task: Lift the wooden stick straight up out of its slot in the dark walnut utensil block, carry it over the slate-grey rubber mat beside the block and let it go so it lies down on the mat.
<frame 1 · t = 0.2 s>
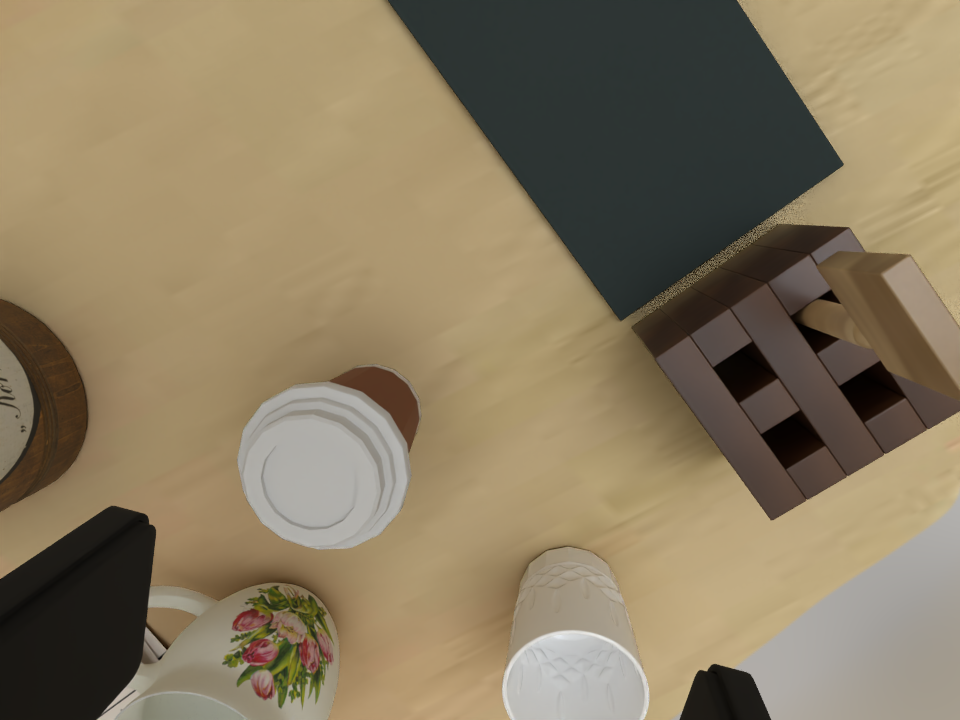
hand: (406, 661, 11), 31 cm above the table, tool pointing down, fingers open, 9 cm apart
white cup: (568, 588, 45), on the table
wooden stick: (762, 297, 39), resting in utensil block
coffee cup: (374, 409, 43), on the table
mat: (608, 76, 37), on the table
newspaper: (65, 699, 52), on the table
utensil block: (751, 344, 40), on the table
pitcher: (278, 614, 48), on the table
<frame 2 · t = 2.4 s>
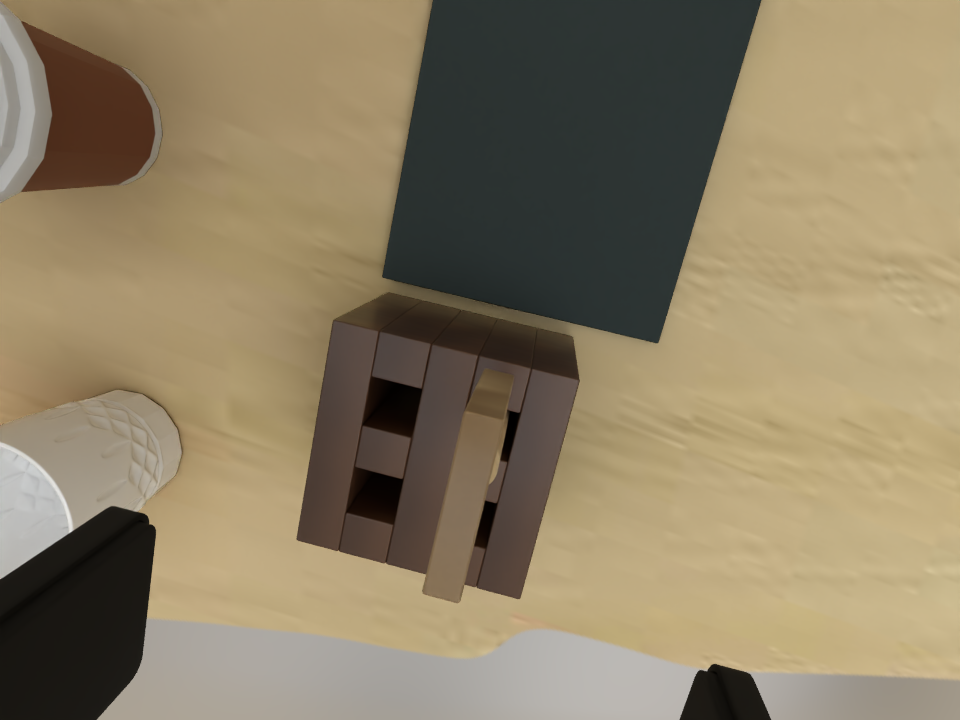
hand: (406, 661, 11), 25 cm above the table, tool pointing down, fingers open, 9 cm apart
white cup: (132, 441, 39), on the table
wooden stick: (504, 377, 36), resting in utensil block
coffee cup: (108, 125, 35), on the table
mat: (575, 72, 32), on the table
utensil block: (459, 403, 36), on the table
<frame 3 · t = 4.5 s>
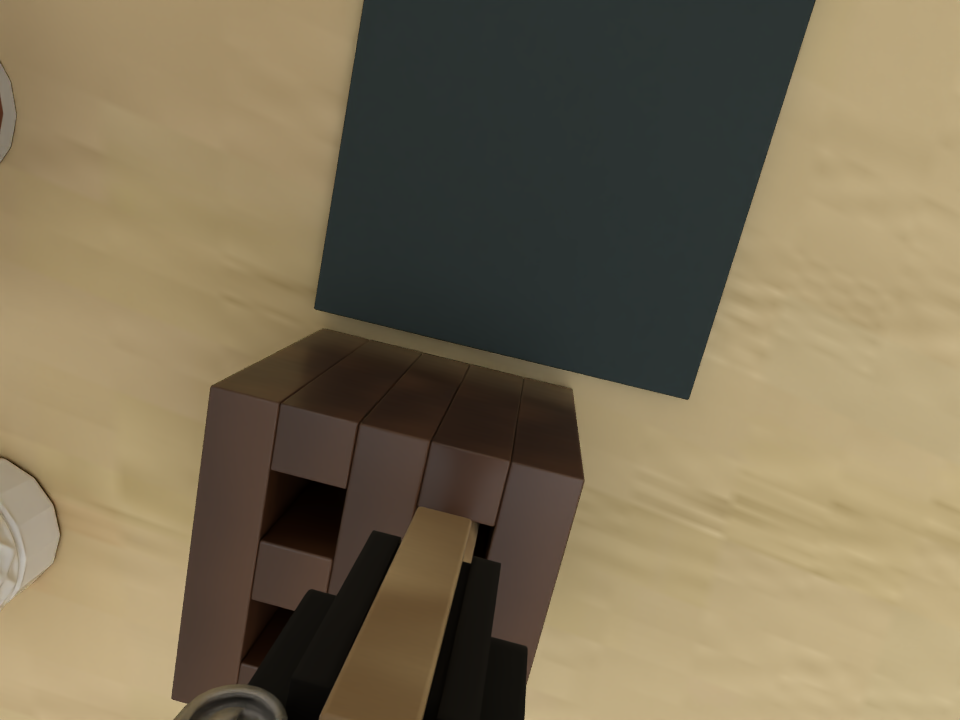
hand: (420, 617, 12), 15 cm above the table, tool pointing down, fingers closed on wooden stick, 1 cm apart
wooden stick: (480, 441, 27), resting in utensil block, touching gripper
mat: (576, 28, 23), on the table
utensil block: (421, 474, 27), on the table
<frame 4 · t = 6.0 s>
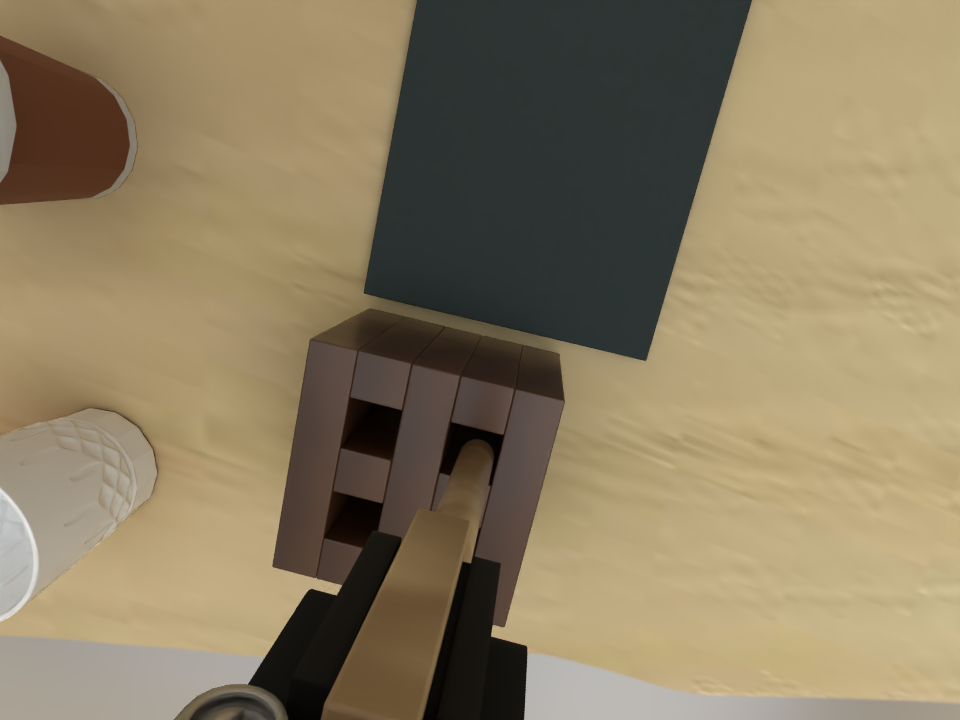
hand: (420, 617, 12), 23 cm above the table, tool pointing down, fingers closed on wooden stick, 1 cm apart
white cup: (106, 461, 38), on the table
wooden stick: (478, 451, 27), point 8 cm above the table, touching gripper
coffee cup: (81, 136, 34), on the table
mat: (560, 85, 31), on the table
utensil block: (443, 421, 35), on the table
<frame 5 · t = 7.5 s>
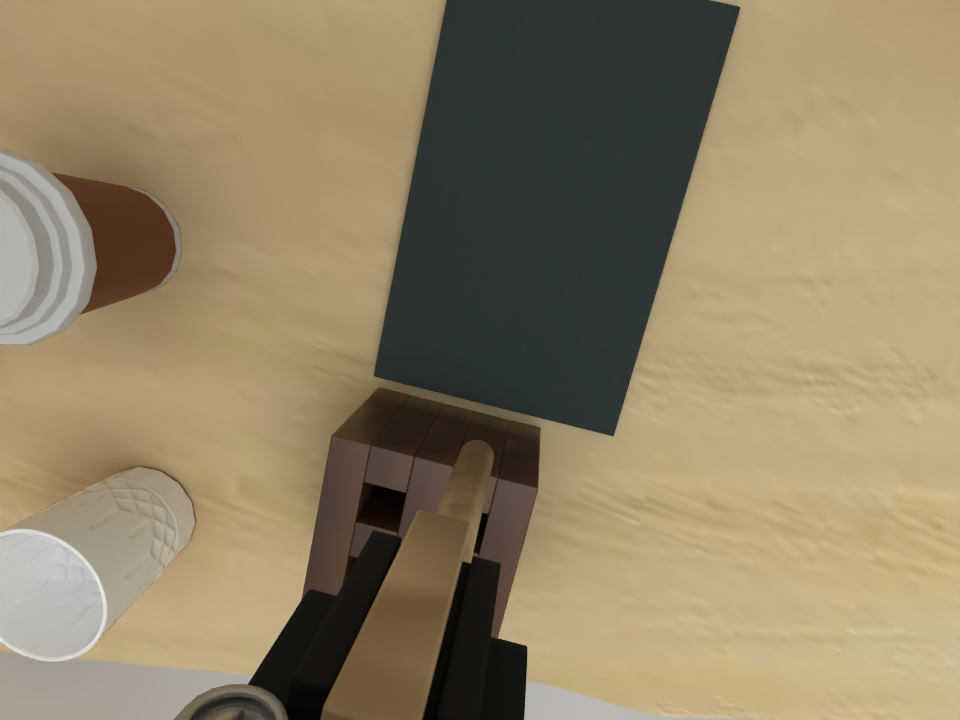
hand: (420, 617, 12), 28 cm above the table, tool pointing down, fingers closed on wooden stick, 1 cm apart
white cup: (150, 511, 44), on the table
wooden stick: (478, 452, 27), point 13 cm above the table, touching gripper
coffee cup: (134, 240, 40), on the table
mat: (540, 208, 37), on the table
utensil block: (441, 482, 41), on the table
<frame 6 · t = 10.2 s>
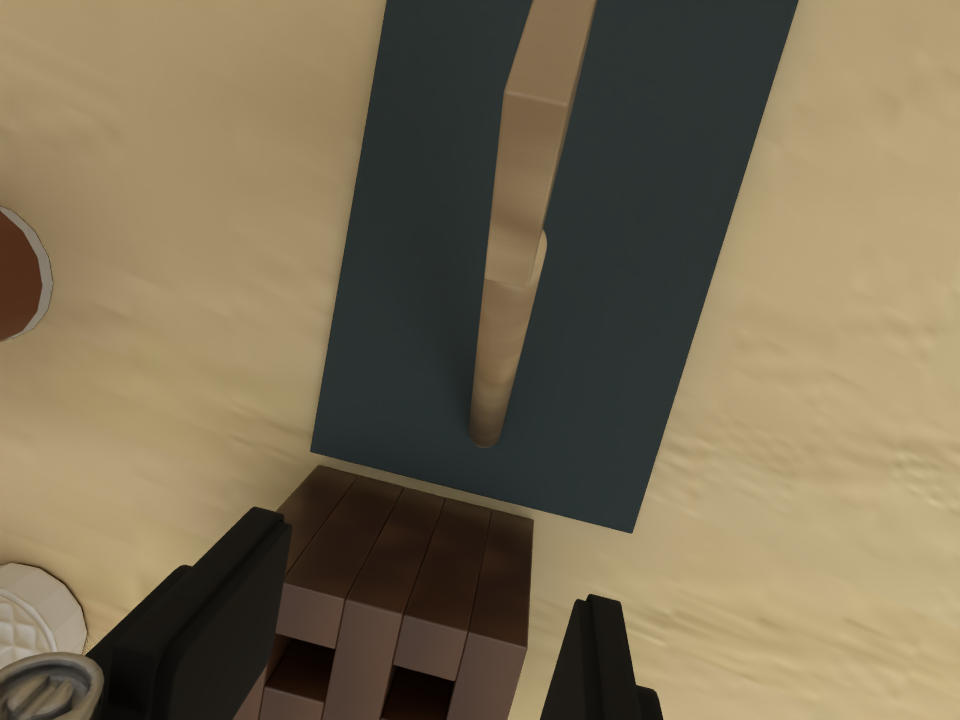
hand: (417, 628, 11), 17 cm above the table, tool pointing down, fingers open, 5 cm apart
white cup: (31, 617, 34), on the table
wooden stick: (483, 436, 28), point 1 cm above the table, tilted 39°, touching mat
mat: (532, 227, 27), on the table
utensil block: (403, 588, 31), on the table
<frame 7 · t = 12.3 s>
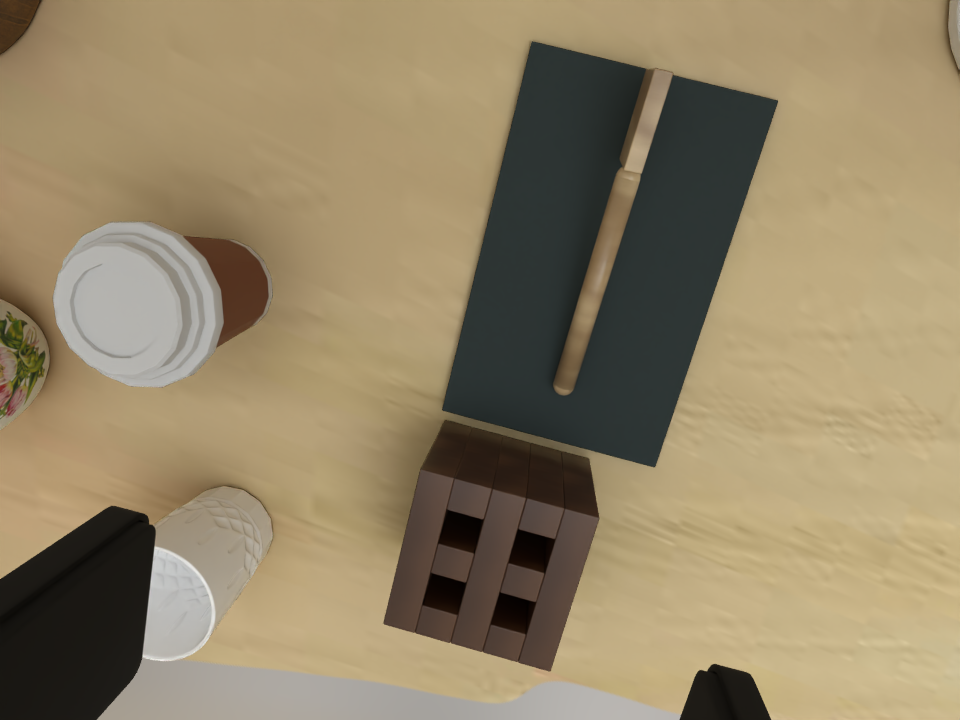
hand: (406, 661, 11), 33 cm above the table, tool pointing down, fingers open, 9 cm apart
white cup: (232, 525, 49), on the table
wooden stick: (561, 393, 43), point 1 cm above the table, tilted 79°, touching mat
coffee cup: (229, 285, 45), on the table
mat: (596, 266, 42), on the table
utensil block: (498, 505, 46), on the table
pitcher: (6, 336, 47), on the table
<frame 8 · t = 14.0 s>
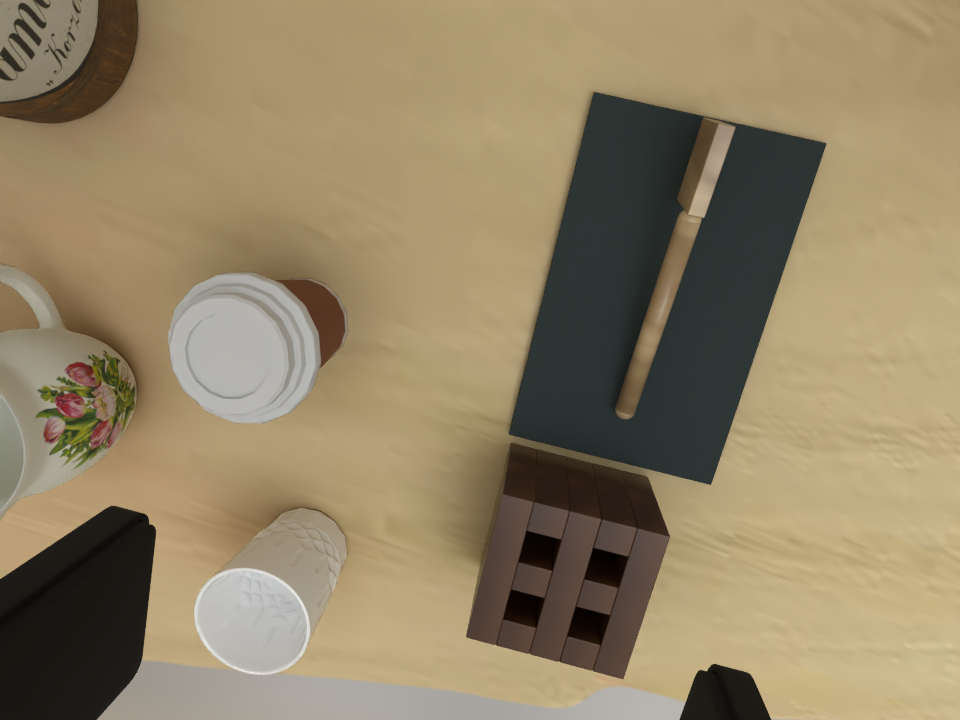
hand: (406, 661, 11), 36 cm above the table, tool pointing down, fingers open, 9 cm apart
white cup: (308, 544, 52), on the table
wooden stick: (622, 417, 45), point 1 cm above the table, tilted 79°, touching mat
wooden container: (41, 12, 45), on the table
coffee cup: (306, 321, 48), on the table
mat: (654, 298, 45), on the table
utensil block: (561, 522, 49), on the table
pitcher: (95, 371, 50), on the table
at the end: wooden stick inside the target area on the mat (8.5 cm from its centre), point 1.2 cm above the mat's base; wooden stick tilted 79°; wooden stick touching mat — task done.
